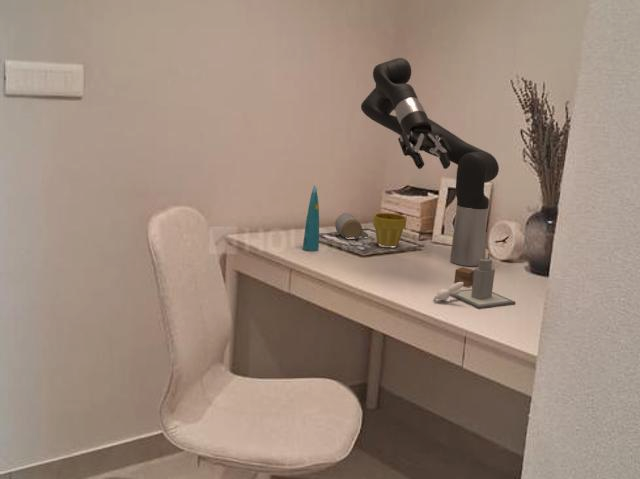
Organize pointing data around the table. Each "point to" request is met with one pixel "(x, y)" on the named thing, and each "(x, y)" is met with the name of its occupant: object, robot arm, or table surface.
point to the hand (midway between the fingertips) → (434, 167)
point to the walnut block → (464, 276)
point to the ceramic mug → (349, 226)
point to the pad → (483, 300)
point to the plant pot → (389, 228)
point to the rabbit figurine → (449, 291)
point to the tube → (312, 224)
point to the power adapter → (483, 279)
